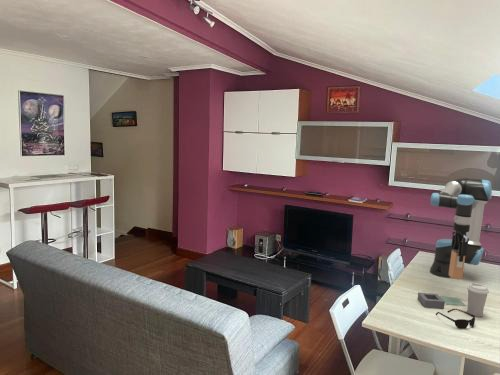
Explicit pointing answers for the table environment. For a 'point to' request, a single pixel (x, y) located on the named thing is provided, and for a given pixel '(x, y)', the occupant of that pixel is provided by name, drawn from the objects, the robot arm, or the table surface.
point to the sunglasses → (461, 320)
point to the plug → (453, 270)
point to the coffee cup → (476, 298)
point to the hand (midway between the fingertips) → (456, 265)
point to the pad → (452, 301)
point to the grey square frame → (431, 300)
